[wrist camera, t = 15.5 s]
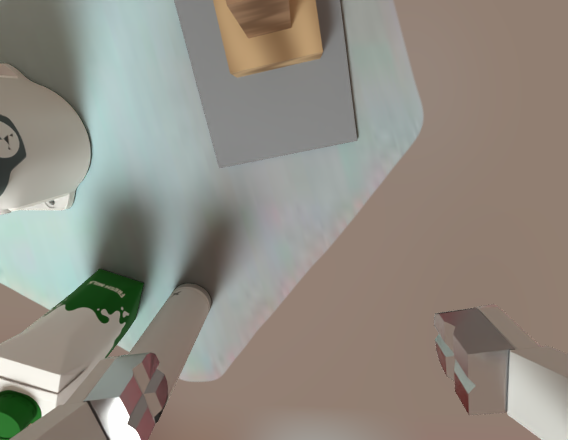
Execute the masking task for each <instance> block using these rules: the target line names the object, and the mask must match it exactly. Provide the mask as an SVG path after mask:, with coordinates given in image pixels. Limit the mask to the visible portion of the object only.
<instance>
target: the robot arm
mask: <svg viewBox="0 0 568 440" xmlns="http://www.w3.org/2000/svg"><path fill="white" fill-rule="evenodd" d="M90 158H91V149H90V142H89V138H88V134H87V132H86V129H85V127H84V125H83V123H82V121H81V119H80V117H79V116H78V114H77V113H76V112H75V110H74V109H73V108H72V107H71V106H70V105H69V104H68V103H67V102H66V101H65V100H64V99H63V98H62V97H61V96H59V95H58V94H56V93H55V92H53V91H52V90H50V89H48V88H46V87H44V86H41V85H39V84H36V83H34V82H32V81H30V80H28V79H27V78H26V77H25V76H24V75H23V74H22V73H21V72H19V71H18V70H17V69H16V68H14V67H13V66H11V65H10V64H5V63H0V215H1V214H7V213H10V212H11V211H16V210H65V209H69V208H70V207H71V206H72V204H73V201H74V196H75V190H76V188H77V187H78V185H79V184H80V183H81V181H82V180H83V179H84V177H85V175H86V173H87V171H88V168H89V164H90ZM53 200H54V201H55V203H54V202H53ZM434 326H435V328H436V329H437V331H438V332H439V335H438V336H437V338H436V339H435V343H436V351H437V355H438V358H439V362H440V364H441V367H442V369H443V370H444V372H445V374H446V376H447V377H448V378H450V379H452V380H453V381H455V392H456V394H457V395H458V397H459V399H460V401H461V402H462V404H463V406H464V408H465V409H466V411H467V413H468V414H469V415H478V414H493V413H506V412H507V414H508V415H509V416H510V417H512V418H513V419H514V420H516V421H517V422H518V423H520V424H521V425H522V426H524V427H525V428H526V429H528V430H529V431H531V432H532V433H533V434H535V435H536V436H537V437H539V438H540V439H542V440H568V354H567V353H565V352H562V351H560V350H557V349H555V348H553V347H550V346H540V345H539V344H538V343H537V342H536V341H535V340H534V339H533V338H532V337H531V336H530V335H528V333H526V332H525V331H524V330H523V329H522V328H521V327H520V326H519V325H518V324H517V323H516V322H515V321H514V320H513V319H511V318H510V317H509V316H508V315H507V314H506V313H505V312H504V311H503V310H502V309H501V308H500V307H499V306H497V305H494V304H491V305H486V306H479V307H474V308H470V309H463V310H456V311H449V312H442V313H435V317H434ZM159 363H160V362H159V360H158V358H157V356H156V354H155V353H151V352H149V353H140V354H131V355H123V356H115V357H107V358H104V359H102V360H100V361H99V363H98V364H97V365H96V366H95V367H94V369H93V370H92V371H91V372H90V374H89V375H88V376H87V377H86V378H85V380H84V381H83V382H82V383H81V385H80V386H79V387H78V388H77V389H76V391H75V392H74V393H73V394H72V396H71V397H70V398H69V399H68V400H67V402H66V403H65V404H64V405H59V406H57V407H56V408H54V409H53V410H51V411H50V412H48V413H47V414H45V415H44V416H43V417H41V418H40V419H38V420H37V421H35V422H34V423H32V424H31V425H30V426H28V427H27V428H25V429H24V430H22V431H21V432H19V433H18V434H16V435H15V436H14V437H12V438H11V439H9V440H148V439H149V437H150V435H151V433H152V431H153V428H154V426H155V420H154V417H155V416H156V415H157V414H158V413H159V412H160V411H161V410H162V409H163V407H164V405H165V402H166V400H167V393H168V384H167V379H166V377H165V374H163V373H162V372H161V371H159V370H158V369H157V368H158V366H159Z"/></svg>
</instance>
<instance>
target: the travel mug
mask: <svg viewBox="0 0 568 440" xmlns="http://www.w3.org/2000/svg"><path fill="white" fill-rule="evenodd" d="M210 308H211V298H210V296H209V294H208V293H207V291H206V290H205V289H203V288H202V287H200V286H198V285H196V284H182V285H180V286H178V287H177V288H176V289H175V290H174V291H173V292H172V294H171V295H170V297H169V298H168V299H167V301H166V302H165V304H164V305H163V306H162V308H161V309H160V311H159V312H158V313H157V315H156V316H155V318H154V319H153V320H152V322H151V323H150V325H149V326H148V327H147V329H146V330H145V332H144V333H143V334H142V336H141V337H140V339H139V340H138V341H137V343H136V344H135V346H134V347H133V348H132V350H131V351H130V353H129V354H128V355H131V354H140V353H149V352H151V353H155V354H156V356H157V358H158V360H159V362H160V363H159V366H158V368H157V369H158V370H159V371H161V372H162V373H163V374H165V377H166V379H167V384H168V393H167V400H166V402H165V405H166V404H167V402H168V400H169V397H170V395H171V393H172V391H173V389H174V387H175V385H176V382H177V380H178V378H179V376H180V374H181V371H182V369H183V367H184V365H185V363H186V361H187V358H188V356H189V354H190V352H191V350H192V347H193V345H194V343H195V341H196V339H197V337H198V334H199V332H200V330H201V328H202V326H203V324H204V321H205V319H206V317H207V315H208V313H209V310H210ZM165 405H164V407H165ZM164 407H163V409H164ZM163 409H162V410H161V411H160V412H159V413H158V414H157V415H156V416H155V417H154V420H155V424H156V423H157V422H158V420H159V418H160V416H161V414H162V411H163Z"/></svg>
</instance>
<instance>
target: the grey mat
mask: <svg viewBox="0 0 568 440" xmlns="http://www.w3.org/2000/svg"><path fill="white" fill-rule="evenodd" d="M174 2H175V5H176V9H177V13H178V16H179V20H180V24H181V28H182V31H183V35H184V39H185V43H186V46H187V50H188V54H189V58H190V61H191V65H192V69H193V72H194V76H195V80H196V84H197V87H198V91H199V95H200V99H201V102H202V106H203V110H204V114H205V117H206V121H207V125H208V128H209V132H210V136H211V140H212V143H213V147H214V151H215V155H216V158H217V162H218V166H219V168H223V167H228V166H233V165H238V164H243V163H248V162H253V161H258V160H263V159H268V158H273V157H278V156H283V155H288V154H293V153H298V152H303V151H308V150H313V149H318V148H323V147H328V146H333V145H338V144H343V143H348V142H353V141H357V134H356V126H355V118H354V110H353V102H352V94H351V86H350V78H349V70H348V62H347V53H346V45H345V37H344V29H343V21H342V13H341V5H340V0H316V6H317V13H318V20H319V27H320V34H321V41H322V48H323V53H322V56H321V58H320V59H316V60H312V61H307V62H303V63H299V64H294V65H290V66H286V67H281V68H277V69H273V70H268V71H264V72H260V73H255V74H251V75H247V76H243V77H238V78H237V77H235V76H234V75H232V74H230V71H229V67H228V62H227V58H226V54H225V49H224V45H223V41H222V37H221V32H220V28H219V24H218V20H217V15H216V11H215V7H214V2H213V0H174Z"/></svg>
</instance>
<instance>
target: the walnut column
mask: <svg viewBox="0 0 568 440" xmlns="http://www.w3.org/2000/svg"><path fill="white" fill-rule="evenodd" d="M226 4H227V6H228V8H229V9H230V11H231V13H232V14H233V16H234V17H235V19H236V20H237V22H238V23H239V25H240V26H241V28H242V29H243V31H244V33H245V34H246V36H247V37H248V38H253V37H257V36H261V35H265V34H269V33H273V32H277V31H281V30H285V29H289V28H291V20H290V8H289V0H226Z"/></svg>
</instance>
